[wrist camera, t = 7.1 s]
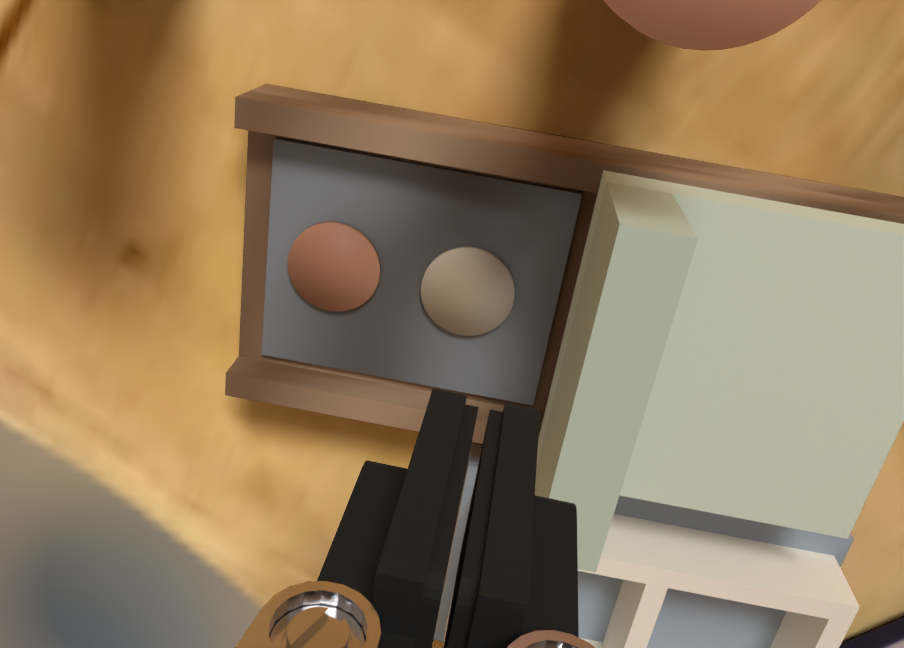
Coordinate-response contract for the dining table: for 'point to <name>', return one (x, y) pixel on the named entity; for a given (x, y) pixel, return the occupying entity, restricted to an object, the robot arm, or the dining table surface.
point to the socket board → (698, 581)
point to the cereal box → (880, 637)
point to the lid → (725, 361)
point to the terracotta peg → (710, 20)
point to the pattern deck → (429, 252)
